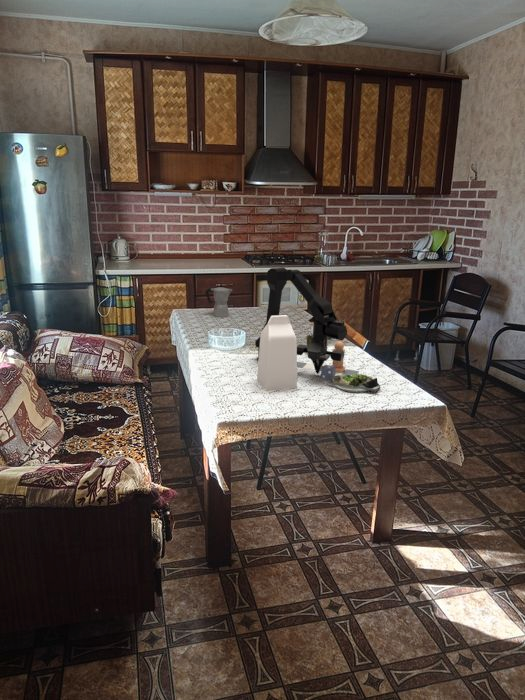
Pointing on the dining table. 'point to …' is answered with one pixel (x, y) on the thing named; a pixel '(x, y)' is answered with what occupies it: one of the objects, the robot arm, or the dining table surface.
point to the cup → (309, 340)
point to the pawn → (339, 364)
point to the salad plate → (355, 383)
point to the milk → (277, 355)
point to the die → (328, 372)
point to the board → (311, 366)
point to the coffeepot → (219, 300)
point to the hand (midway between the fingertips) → (317, 373)
